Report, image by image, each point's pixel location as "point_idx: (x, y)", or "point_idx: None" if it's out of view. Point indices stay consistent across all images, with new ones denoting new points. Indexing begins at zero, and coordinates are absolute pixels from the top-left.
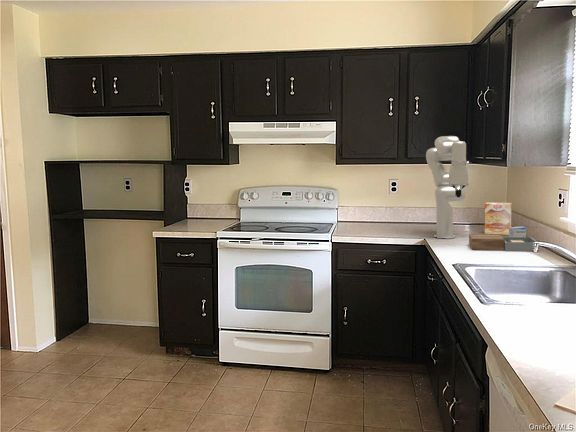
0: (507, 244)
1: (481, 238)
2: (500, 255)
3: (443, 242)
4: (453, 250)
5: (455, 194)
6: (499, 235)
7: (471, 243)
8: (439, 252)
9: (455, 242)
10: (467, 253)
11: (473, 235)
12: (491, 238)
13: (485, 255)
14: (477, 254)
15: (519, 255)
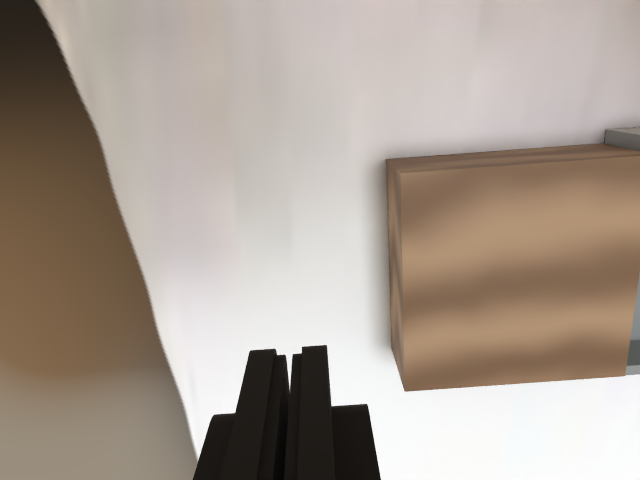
0: None
1: (472, 362)
2: (526, 461)
3: (193, 77)
4: None
5: (211, 436)
6: (638, 208)
7: (397, 336)
8: None
9: (287, 62)
10: None
11: (430, 236)
12: (543, 354)
13: (449, 473)
14: (411, 456)
15: (624, 447)
